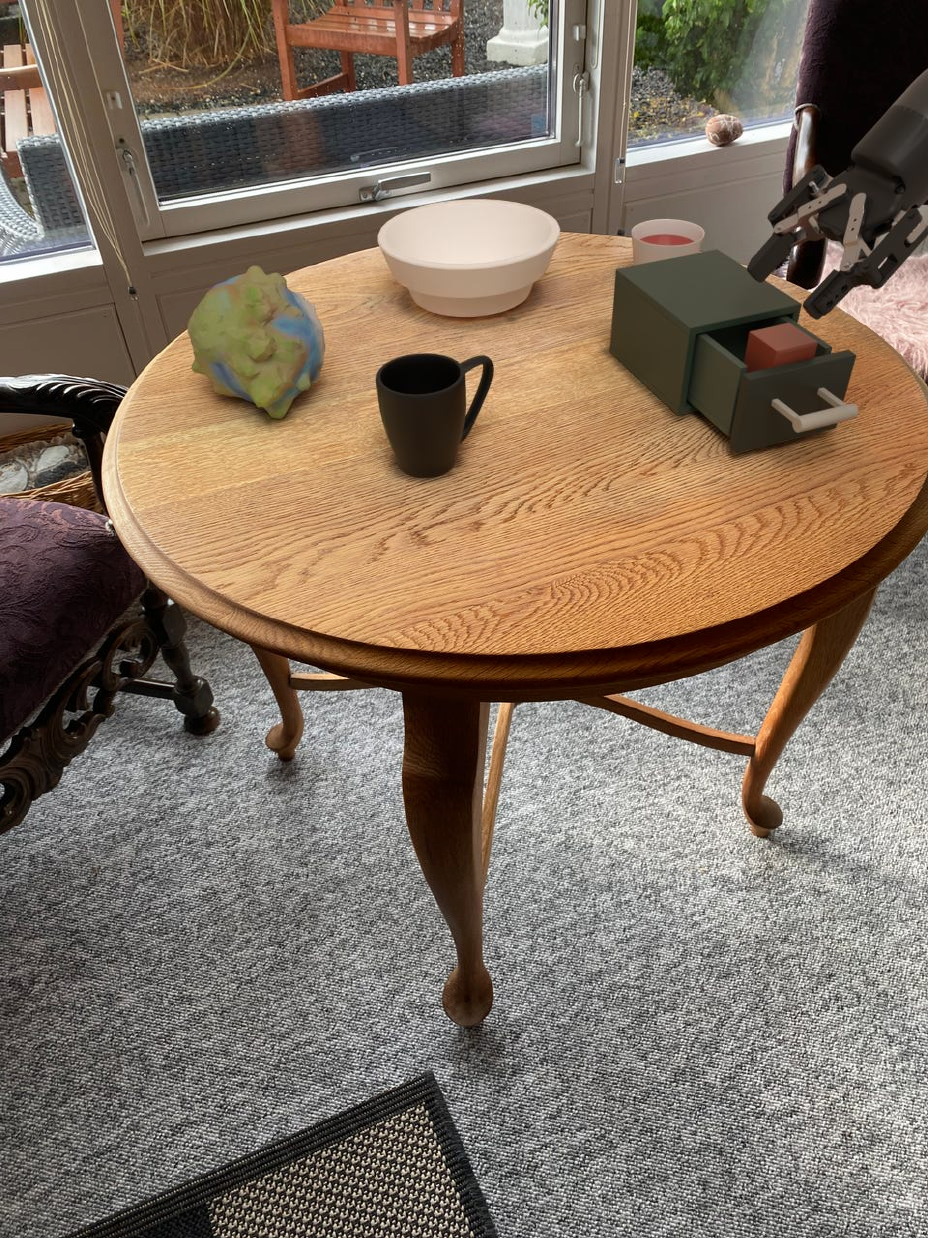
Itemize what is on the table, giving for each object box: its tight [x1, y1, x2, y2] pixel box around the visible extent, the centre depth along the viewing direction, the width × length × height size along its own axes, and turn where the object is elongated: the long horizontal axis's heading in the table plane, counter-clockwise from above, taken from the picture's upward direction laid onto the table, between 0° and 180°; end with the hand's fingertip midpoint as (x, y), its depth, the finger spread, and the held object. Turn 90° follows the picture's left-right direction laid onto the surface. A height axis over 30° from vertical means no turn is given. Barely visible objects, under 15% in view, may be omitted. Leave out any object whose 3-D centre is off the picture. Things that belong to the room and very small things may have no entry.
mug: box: [375, 352, 495, 479], centre depth 85 cm, size 8×12×10 cm
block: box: [744, 323, 818, 373], centre depth 85 cm, size 4×4×8 cm
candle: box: [630, 218, 706, 266], centre depth 114 cm, size 9×9×6 cm
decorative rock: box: [186, 264, 327, 419], centre depth 93 cm, size 14×16×15 cm
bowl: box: [377, 198, 561, 318], centre depth 112 cm, size 22×22×8 cm
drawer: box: [687, 315, 859, 455], centre depth 87 cm, size 19×11×8 cm, turn 20°
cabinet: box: [608, 248, 803, 417], centre depth 96 cm, size 16×13×10 cm
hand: (780, 294), depth 79 cm, fingers open, 8 cm apart
